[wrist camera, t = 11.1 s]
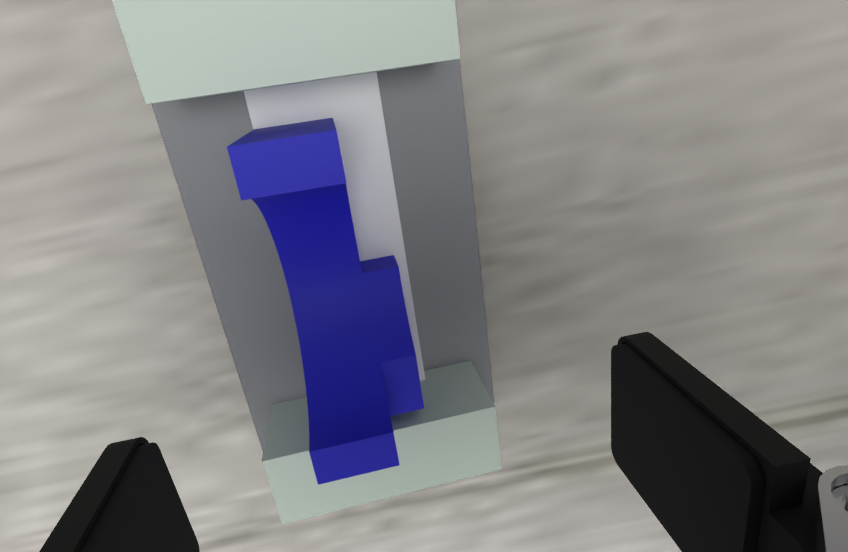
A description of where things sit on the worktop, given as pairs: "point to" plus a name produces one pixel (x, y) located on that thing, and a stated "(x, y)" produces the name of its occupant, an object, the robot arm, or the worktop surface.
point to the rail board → (368, 197)
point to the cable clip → (333, 298)
